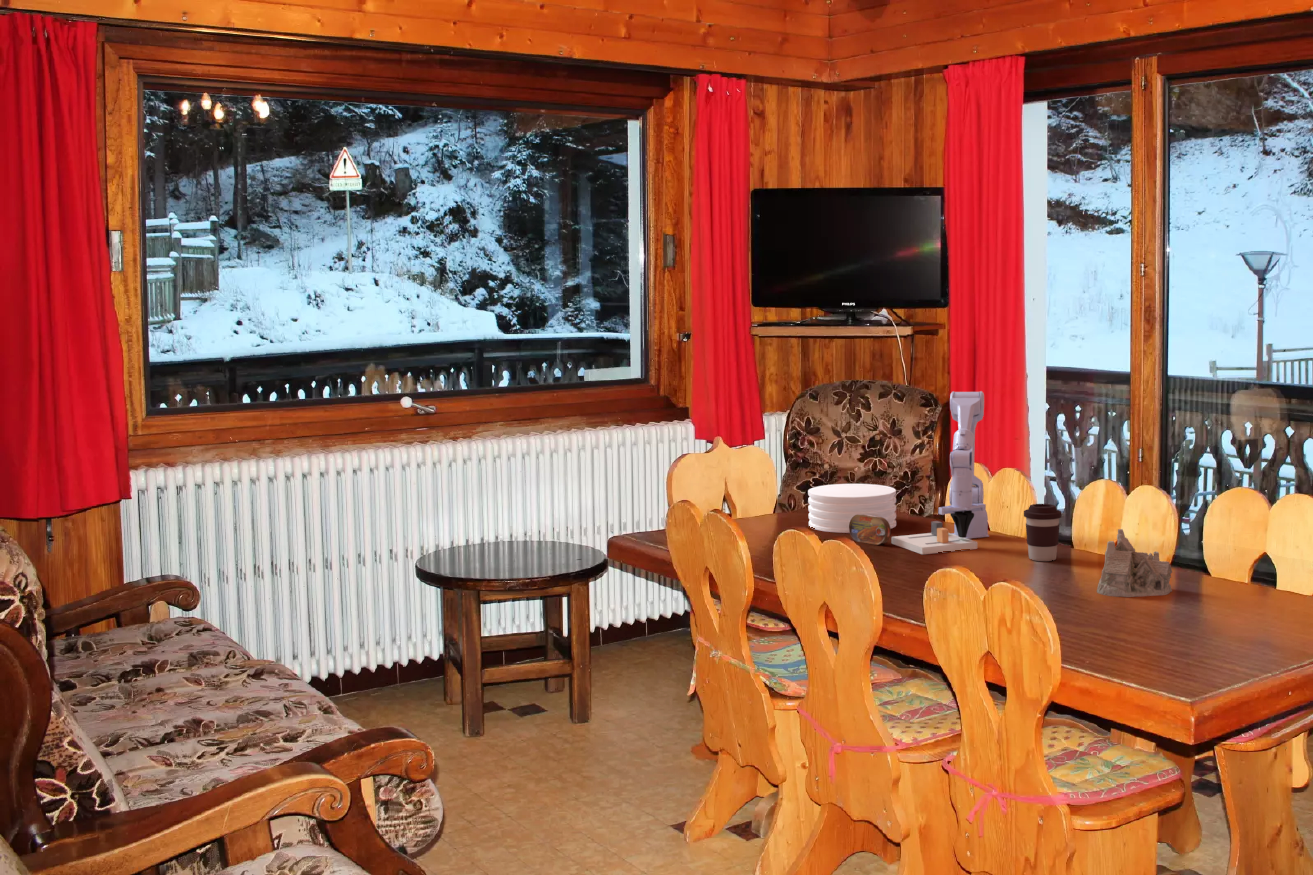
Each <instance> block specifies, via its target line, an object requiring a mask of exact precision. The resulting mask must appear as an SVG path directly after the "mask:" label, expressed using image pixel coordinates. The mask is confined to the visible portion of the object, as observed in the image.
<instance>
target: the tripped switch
mask: <svg viewBox="0 0 1313 875" xmlns="http://www.w3.org/2000/svg"><path fill="white" fill-rule="evenodd" d="M948 533H949V529H948V528H946V527H942V528H937V541H938V542H941V543H948Z"/></svg>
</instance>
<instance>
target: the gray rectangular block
mask: <svg viewBox="0 0 1313 875" xmlns="http://www.w3.org/2000/svg"><path fill="white" fill-rule="evenodd" d="M930 523H931V524H930V525H931V527H930V529H931V530H930V533H931V534H932V535H935V536H937V528H943V522H941V521H939V520H934V521H933V520H932V521H930Z"/></svg>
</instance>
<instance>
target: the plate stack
mask: <svg viewBox="0 0 1313 875" xmlns="http://www.w3.org/2000/svg"><path fill="white" fill-rule="evenodd" d="M807 495H808V496H809V497H808V500H807V503H808V504H809V505H808V509H807V510H808V512H809V513H808V519H809V521H808V527H809V526H810V528H811V527H813V528H815V529H814V530H817V531H822V532H827V533H829V532H830V533H841V534H842V533H843V534H845V533H846V534H850V531H849V523H850V520H851V519H852V517H853V516H855V515H870V516H877V517H883V518H885V519H886V520H887V521H888V523H889V525H890V530H891V529H893V528H896V526H897V520H896V519H897V512H896V511H897V505H896V503H897V498H896V495H897V489H896V488H894V487H893V486H887V485H884V484H883V485H882V484H874V483H873V484H872V483H836V484H825V485H818V486H813V487H812V488H809V489H808V490H807ZM813 528H812V529H813Z"/></svg>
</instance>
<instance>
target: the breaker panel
mask: <svg viewBox="0 0 1313 875" xmlns="http://www.w3.org/2000/svg"><path fill="white" fill-rule="evenodd" d="M890 538H891V544H892V545H895V546H897V547H900V548H903V549H906V550H909V551H911V552H915V553H917V554H920V555H931V554H939V553H938V552H942V553H944V552H943V551H951V552H956V551H955V550H961V549H970V550H976V549H978V541H976V540H972V539H966V538H961V537H959V536H957V535H954V534H951V533H950V532H948V543H941V542H938V541H937V536H935V535H932V534H931V532H927V533H917V534H916V533H915V534H909V535H898V536H896V535H895V536H890ZM961 551H962V550H961Z"/></svg>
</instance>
